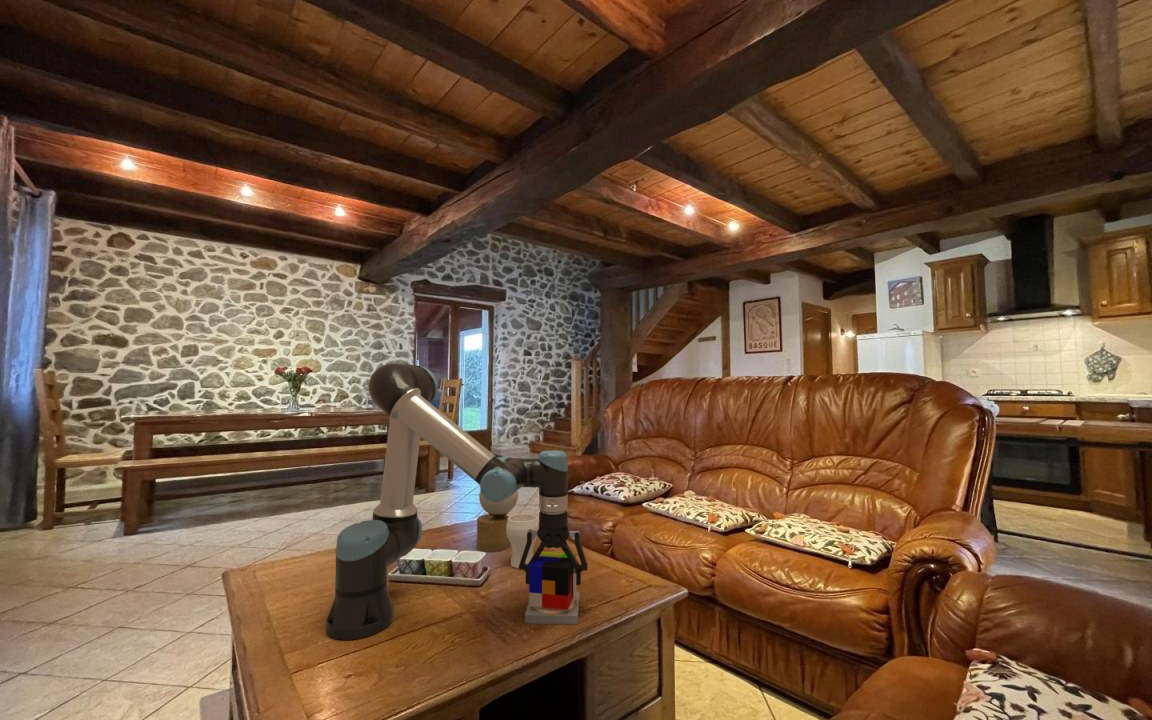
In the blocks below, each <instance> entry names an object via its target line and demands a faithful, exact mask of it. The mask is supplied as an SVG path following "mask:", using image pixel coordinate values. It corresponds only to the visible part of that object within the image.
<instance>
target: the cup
mask: <svg viewBox="0 0 1152 720" xmlns="http://www.w3.org/2000/svg"><path fill="white" fill-rule="evenodd" d="M530 529H531V530H532V531H538V530H539V519H538V517H537V515H535V514H531V513H517V514H512V515H509V516H508V521H507V526H506V532H507V536H508V543H509V545H510V546H511V557H510V567H513V568H515V569H519V564H520V561H521V558H522V555H523V552H524V549H525V546H526V543H527V533H528V531H529V530H530ZM537 539H538V536H536V537H535V539H534V540H532V543H531V546H530V549H529V552H528V555H527V558H526V561H525V564H528V563H529V561H530V560H531V558H532V557H533V555H534V545H535V543H536V541H537Z"/></svg>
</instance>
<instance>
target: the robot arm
mask: <svg viewBox="0 0 1152 720" xmlns="http://www.w3.org/2000/svg"><path fill="white" fill-rule="evenodd" d="M438 385H439V384H438V380H437V378H436V376H435V374H434V373H433V372H432V371H431V370H430V369H428V368H426V367H424V366H422V365H417V364H406V363H403V364H402V363H393V362H392V363H386V364H383V365H382V366H380V367H378V368H377V369H376V370H375V371H374V372H373V373H372V374H371V376H370V378H369V381H368V393H369V396H370V398H371V399H372V401H373V403H374V404H375V405H376V406H378V408H379V409H380V410H381V411H383V412H384V413H385V414H386V415H387V416H388V417H389V424H388V432H387V439H386V440H387V442H386V448H385V449H386V450H385V457H384V467H383V475H382V484H381V492H380V500H379V504H378V505H376V506H375V507H374V508H373V511H372V519H370V520H368V519H367V520H363V521H360V522H356V523H353V524H350V525H349V526H347V527H344V529H342V530H341V531H340V532H339V534H338V535H337V538H336V545H335V546H336V547H335V579H334V580H335V582H334V583H335V585H334V587H335V591H334V593H335V594H334V599H333V601H332V604H331V606H330V609H329V612H328V615H327V618H326V622H325V633H326V635H327V634H328V635H329V636H330V637H329V636H328V635H327V636H328V637H329V638H331V637H332V638H331V639H334V638H335V640H339V641H343V640H344V641H348V640H349V641H350V640H351V641H352V640H358V639H362V638H367V637H369V636H373V635H375V634H377V633H380V632H382V631H383V630H385V629H386V628H388V627H389V626H390V625H391V624H392V623H393V621H394V615H395V610H394V609H395V607H394V604H393V601H392V599H391V595H390V592H389V590H388V567H389V566H392V564H394V563H395V562H397V561H399V559H401V558H402V557H405V556H406V555H408V554H409V553H411V551H413V550H414V548H415V547H416V546H417V545H418V544H419V542H420V540H421V537H422V534H423V524H422V521H421V520H420V519H419V515H418V508H417V507H416V506H415V505H414V495H415V487H416V486H415V485H416V479H417V478H416V477H417V470H418V468H417V467H418V458H419V452H420V451H419V450H420V442H421V439H423V440H424V441H426V442H427V443H428V444H430V445H431V446H432V447H433V448H434V449H436V450H437V451H438V452H439V453H440V454H441V455H443V456H444V457H445V458H446V459H448V460H449V461H450V462H451V463H453V465H455V466H456V467H457V468H458V469H460V470H461V471H462V472H463V473H465V474H466V475H467V476H468V477H469V478H471V479H472V480H473V481H475V482H476V483H477V484H478V485H479V489H480V490H481V492H482V494H483V496H484V497H485V498H486V499H487V500H489V501H491V502H501V501H503V500H505V499H507V498H509V497H510V496H512V495H513V494H514V492H515V491H517V490H519V489H521V488H535V489H536V488H538V489H539V492H538V493H539V494H538V495H539V497H538V499H539V500H538V509H539V510H540V512H538V524H539V530H538V531H532V530H531V529H530V530H529V531H528V533H527V543H526V546H525V549H524V552H523V555H522V558H521V561H520V564H519V568H518V570H520V571H524V572H525V584H526V585H529V565H530V564H531V563H532V561H536V560H537V559H538V557H539V556H540V554H541V552H544V549H545V547H546V548H547V549H551V548H554V549H559V548H560V549H561V550H562V551H563V553H565V554H566V556H567V558H568V559H569V561H572V566H573V568H574V569H575V570H574V571H573V600H576V596H577V592H578V590H577V588H578V586H581V584H582V583H581V582H582V572H586V571H587V570H588V569H589V568H588V562H587V558H586V555H585V552H584V549H583V546H582V542H581V540H580V534H581V533H580V530H578V529H576V530H575V531H574V530H569V526H568V525H569V524H568V523H569V522H568V520H569V517H568V516H569V513H568V506H569V505H568V503H569V501H568V500H569V499H568V497H569V496H568V495H569V494H568V493H569V492H568V484H569V482H568V480H569V479H568V477H569V476H568V475H569V467H568V455H567V453H566V452H565V451H562V450H544V451H540V453H539V456H538V458H524V457H523V458H522V457H520V458H519V457H517V458H516V457H500V458H498V457H497V456H496V455H495V454H494V453H493V452H491V451H490V450H488V449H487V448H486V447H485V446H484V445H483V444H481V443H480V442H479V441H478V440H476V439H475V438H474V437H473V436H471V435H470V434H469V433H467V431H466V430H464V429H463V428H462V427H460V426H459V425H458V424H456V423H455V422H454V421H453V420H451V418H449V417H448V416H447V415H446V414H444V413H443V412H442V411H440V410H439V409H438V408H437V407H435V406H434V405H433V404H432V402H433V400H434V399H435V398H436V396H437V394H438V391H439V389H438V388H439V386H438ZM480 490H479V491H480ZM536 536H537V538H539V540H540V543H539V545H538V547H537V548H536V550H535V551H534V552H533V557H532V558H531V560H530V561H529V563H528V564H525V561H526V558H527V555H528V552H529V549H530V546H531V543H532V540H534V539H535V537H536ZM569 537H570V538H571V540H572V541H574V545H575V548H576V551H577V554H578V558H579V561H580V563H579V561H578V559H577V557H576V558H575V556H574V554H575V553H574V552H572V549H571V548H570V547H569V545H568V542H567V539H568V538H569ZM366 636H367V637H366ZM340 639H341V640H340Z"/></svg>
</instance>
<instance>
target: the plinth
mask: <svg viewBox="0 0 1152 720" xmlns="http://www.w3.org/2000/svg"><path fill="white" fill-rule="evenodd" d="M579 610H580V591H577V596H576V600H572V602H571V604H570V606H569V609H568V610H565V609H554V608H544V607H533V606H529V602H528V604H527V607H526V610H525V613H524V624H534V625H537V624H538V625H539V624H540V625H541V624H542V625H543V624H544V625H545V624H547V625H548V624H549V625H553V624H554V625H578V623H579Z"/></svg>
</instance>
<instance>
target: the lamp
mask: <svg viewBox="0 0 1152 720" xmlns="http://www.w3.org/2000/svg"><path fill="white" fill-rule="evenodd" d="M518 490H519V489H518ZM518 490H517V491H515V492H514V494H513V495H512V496H510V497H509V498H507V499H505V500H503V501H501V502H491V501H489V500H487V499H486V498H485V497H484V496H483V494H482V492H481V490H479V495H478V498H479V503H480V506H481V508H482V509H483V510H484V512H486V513H487V514H482V515H479V516H478V517H477V518H476V549H477V551H479V552H482V551H484V552H483V553H497V552H501V551H503V550H506V549H507V548H508V547H509V540H508V536H507V532H506V526H507V521H508V518H509V516H508V514H509V513H510V512H511V511H512V510H513V509H515V507H516V504H517V503H518V500H519V491H518Z"/></svg>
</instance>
